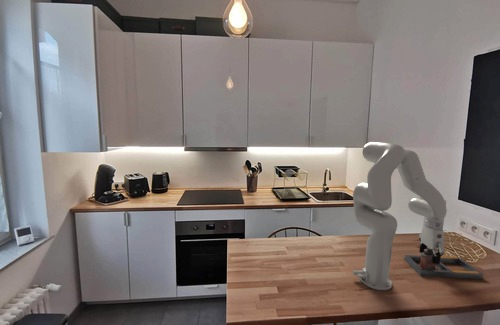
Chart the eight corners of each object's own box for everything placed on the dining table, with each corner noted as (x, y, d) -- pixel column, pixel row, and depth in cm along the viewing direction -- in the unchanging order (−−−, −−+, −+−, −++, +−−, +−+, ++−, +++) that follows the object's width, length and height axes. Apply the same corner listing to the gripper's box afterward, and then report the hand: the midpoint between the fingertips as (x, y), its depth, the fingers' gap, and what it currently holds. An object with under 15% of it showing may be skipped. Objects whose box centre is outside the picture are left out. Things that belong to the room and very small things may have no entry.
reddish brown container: (423, 271, 120) (426, 251, 118) (417, 267, 123) (419, 247, 121) (436, 268, 122) (439, 249, 120) (430, 265, 125) (432, 245, 124)
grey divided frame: (420, 276, 116) (421, 270, 116) (404, 259, 130) (404, 254, 129) (482, 279, 114) (483, 273, 114) (459, 262, 128) (459, 257, 128)
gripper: (455, 231, 110) (450, 268, 113) (430, 216, 127) (426, 249, 130) (436, 231, 111) (432, 267, 114) (414, 216, 128) (410, 248, 131)
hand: (429, 257), depth 122 cm, fingers open, 9 cm apart
